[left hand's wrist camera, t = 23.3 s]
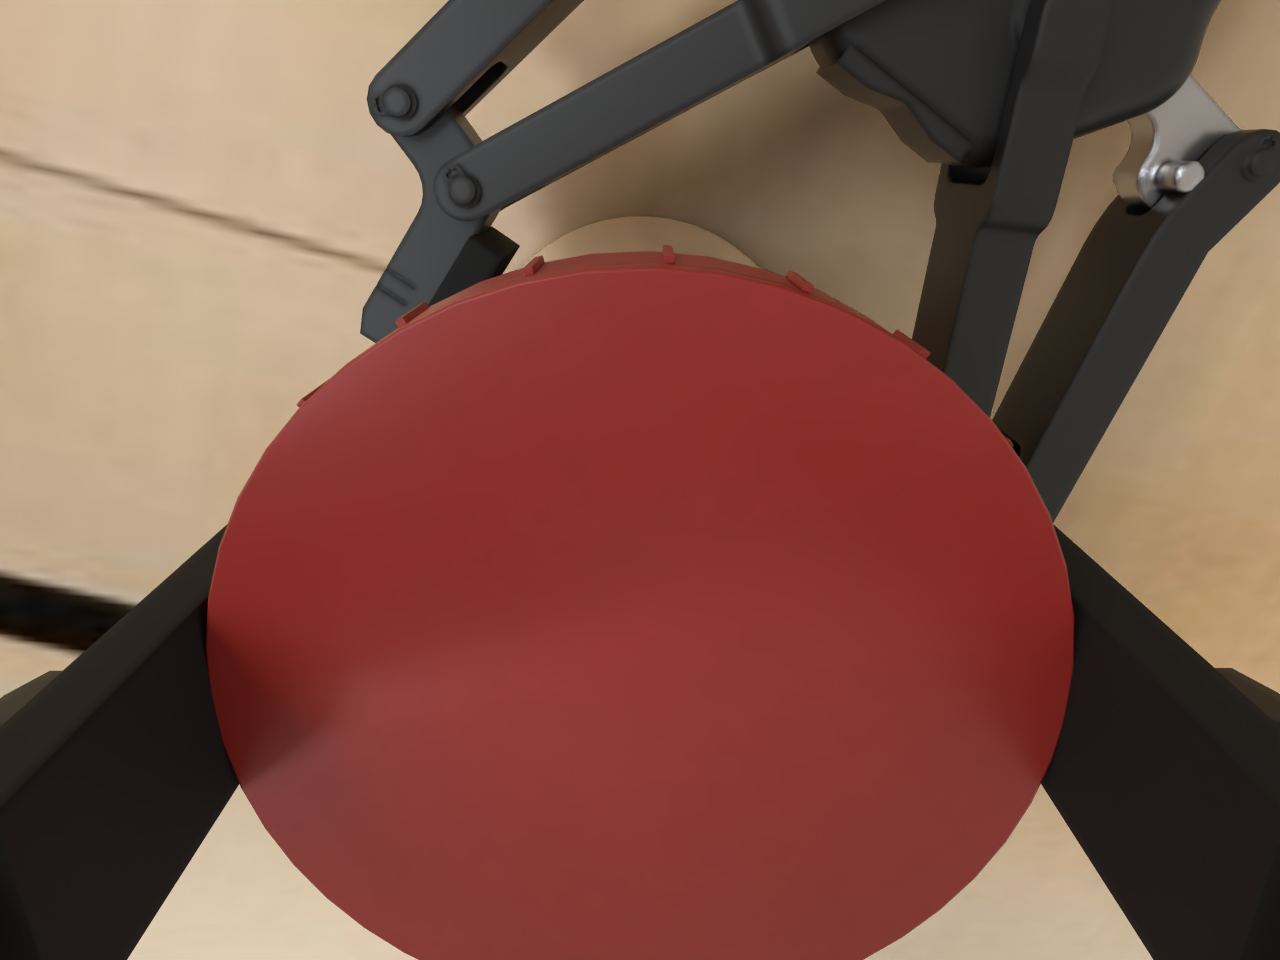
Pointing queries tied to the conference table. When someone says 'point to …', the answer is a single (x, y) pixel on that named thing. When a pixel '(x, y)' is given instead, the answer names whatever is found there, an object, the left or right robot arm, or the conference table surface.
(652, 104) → the right robot arm
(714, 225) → the conference table surface
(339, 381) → the lid
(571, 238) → the jar
